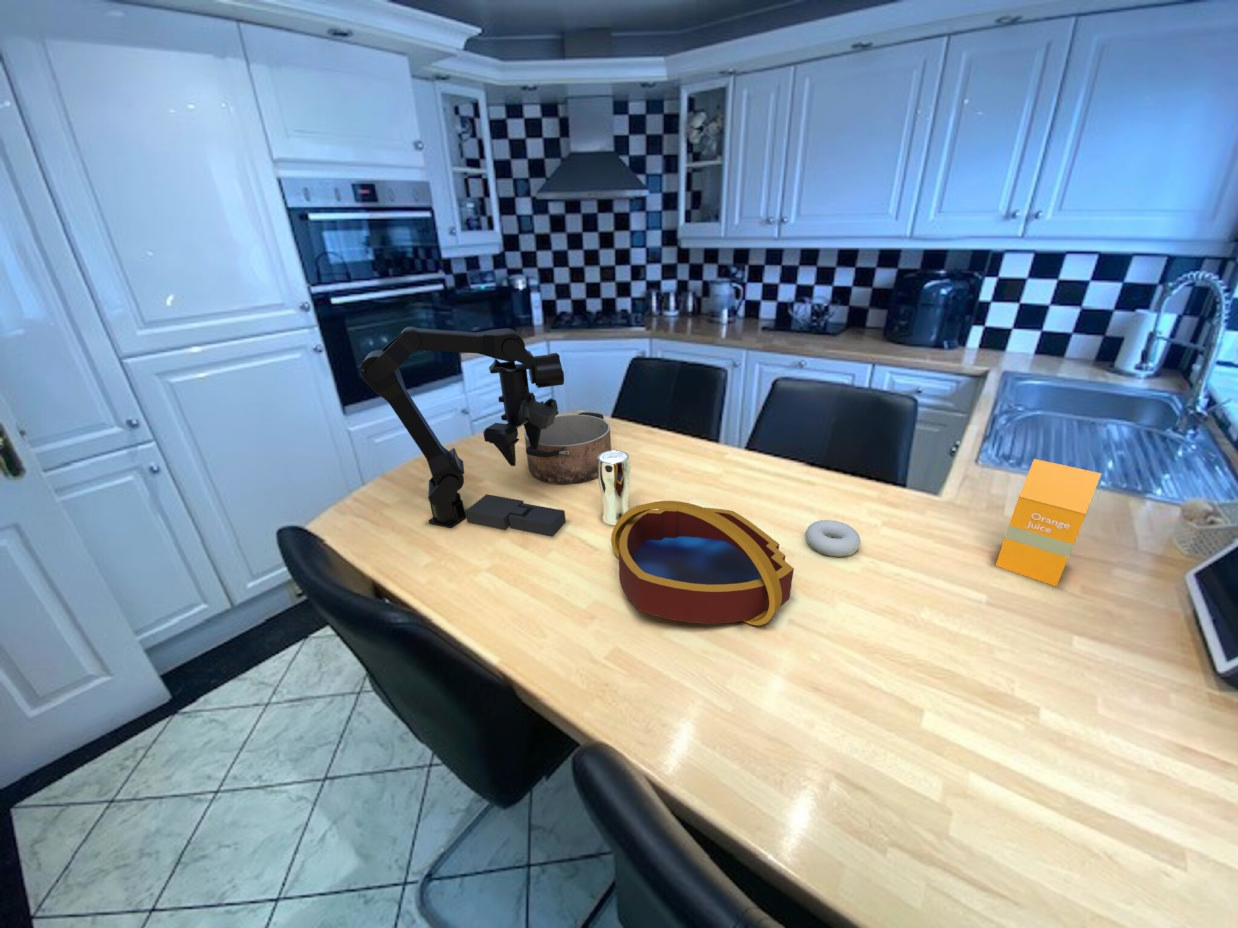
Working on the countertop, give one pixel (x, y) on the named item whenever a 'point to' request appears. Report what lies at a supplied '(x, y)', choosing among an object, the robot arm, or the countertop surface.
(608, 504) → the beer glass
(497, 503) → the dock pad
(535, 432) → the robot arm
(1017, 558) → the orange juice
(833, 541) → the donut
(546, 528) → the black flat notched block
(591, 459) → the cooking pot
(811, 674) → the countertop surface
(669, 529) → the decorative basket
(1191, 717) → the countertop surface
